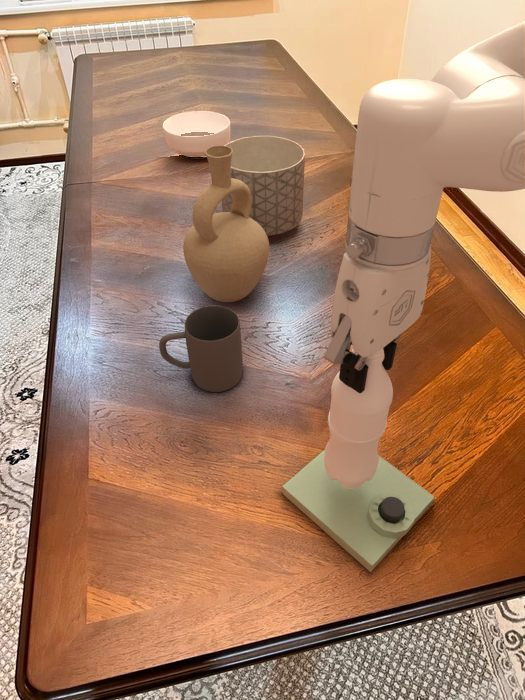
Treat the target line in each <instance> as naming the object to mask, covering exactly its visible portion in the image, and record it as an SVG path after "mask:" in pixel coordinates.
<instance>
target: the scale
mask: <svg viewBox="0 0 525 700" xmlns="http://www.w3.org/2000/svg"><path fill="white" fill-rule="evenodd" d="M324 453H325V449H323V450H322V451H321V452H320V453H319V454H318V455H316V456H315V457H314V458H313V459H311V461H310V462H309V463H307V464H305V466H304V467H302V468H301V469H300V470H299V471H298V472H297V473H296V474H294V475H293V476H292V477H291V478H290V479H289V480H288V481H287V482H285V483H284V484H283V485H281V494H282V495H283V496H284V497H285V498H286V499H287V500H288V501H290V503H292V504H293V505H294V506H295V507H296V508H297V509H298V510H300V511H301V513H303V514H304V515H306V516H307V517H308V518H309V519H310V520H311V521H312V522H313V523H314V524H315V525H317V526H318V527H319V528H320V529H321V530H322V531H323V532H324V533H325V534H326V535H328V536H329V537H330V538H331V539H332V540H333V541H334V542H336V543H337V544H338V545H339V546H340V547H341V548H342V549H344V551H346V552H347V553H348V554H349V555H351V557H353V559H355V560H356V561H357V562H358V563H359V564H361V566H363V567H364V568H365V569H366V570H367V571H368V572H370V573H372V571H373V570H374V569H375V568H376V567H377V566H378V565H379V564H380V562H381V561H383V559H384V558H385V557H386V556H387V555H388V554H389V553H390V551H392V550H393V548H394V547H396V545H397V544H398V543H399V542H400V540H401V539H402V538H403V537H404V536H406V535H407V534H408V533H409V531H411V529H412V528H413V526H415V524H416V523H417V522H418V521H419V519H420V518H421V517H422V516H423V515H424V514H425V513H426V512H427V510H428V509H429V508H430V507H431V506H432V505H433V503H434V500H435V498H436V496H435V495H433V494H432V493H430V491H427V490H426V489H425V488H424V487H422V486H421V485H420V484H418V483H417V482H416V481H414V480H413V479H412V478H410V477H409V476H407V475H406V474H405V473H404V472H403V471H401V470H399V469H398V468H396V467H395V466H394V465H393V464H391V463H390V462H389V461H387V460H386V459H384V458H383V457H382V456H380V455H379V462H378V466H377V469H376V472H375V474H374V476H373V478H372V479H371V480H369V481H366V482H365V483H364V484H363V485H362V486H360V487H358V488H355V489H347V488H345V487H343V486H342V485H341V484H340V482H339V480H338V479H336V480H332V479H331V478H330V477H329V475H328V474H327V471H326V469H325V464H324ZM387 497H396V498H398V499H399V500H401V501H402V503H403V504H404V508H405V510H404V513H403V516H402V519H401V520H400V521H398V522H395V523H391V522H388V521H386V520H384V519H383V518H382V516H381V514H380V507H381V503H382V501H383V500H384V499H385V498H387Z"/></svg>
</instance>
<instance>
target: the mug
mask: <svg viewBox="0 0 525 700" xmlns="http://www.w3.org/2000/svg"><path fill="white" fill-rule="evenodd" d="M183 327H184V331H181V332H180V331H179V332H172V333H167V334H164V335H162V336H161V338H160V339H159V342H158V343H159V344H158V348H159V353H160V355H161V357H162V359H163V360H164V361H166V362H167V363H169V364H171V366H175V367H177V368H181V369H187V370H189V369H190V375H191V377H192V380H193V382H194V384H195V385H196V386H197V387H198V388H200V389H201V390H203V391H206V392H210V393H220V392H225V391H229V390H231V389H233V388H234V387H235V386H237V385H238V384H239V383H240V381H241V379H242V377H243V370H244V369H243V367H244V364H243V362H244V361H243V345H242V330H241V329H242V328H241V322H240V318H239V316H238V314H237V313H236V312H235V311H234V310H232V309H231V308H229V307H227V306H223V305H215V304H213V305H212V304H211V305H205V306H202V307H199V308H196V309H194V310H193V311H192V312H190V313H189V314H188V315H187V317H186V318H185V321H184V326H183ZM182 339H185V344H186V350H187V351H186V352H187V356H188V357H187V358H188V361H183V360H180V359H177V358H175V357H174V356H172V355H170V354H169V353H168V350H167V343H168V342H169V341H173V340H182Z"/></svg>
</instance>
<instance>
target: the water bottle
mask: <svg viewBox="0 0 525 700" xmlns="http://www.w3.org/2000/svg"><path fill="white" fill-rule="evenodd" d="M351 352H352V353H354V354H356V355H358V354H357V353H356V352H355V351H354V348H352V350H351ZM383 360H384V350H383V348H382V349H381V350H380V351H378V352H377V353H375V354H374V355H372V356H369V357H367V360H366V363H365V364H366V365H367V366H368V372H367V378H366V384H365V390H364V391H363V392H362V393H358V392H357V391H355V390H354V389H352V388H351V387H348V386H347V385H345V384H344V383H343V382H342V381H341V380H340V379H339V374H340V370H339V371H338V372H337V373H336V375H335V377H334V378H333V380H332V384H331V388H330V394H331V395H330V396H331V398H330V408H329V412H328V416H327V427H328V430H329V437H328V441H327V444H326V445H325V448H324V450H325V453H324V464H325V469H326V471H327V474H328V475H329V477H330V478H331V479H332V480H336V479H338V480H339V482H340V484H341V485H342V486H343V487H345V488H347V489H355V488H358V487H360V486H362V485H363V484H364V483H365V482H366V481H369V480H371V479H372V478H373V476H374V474H375V472H376V469H377V466H378V462H379V456H380V455H379V444H380V440H381V438H382V436H383V434H384V432H385V431H386V430H387V426H388V421H387V420H388V416H389V411H390V407H391V405H392V402H393V398H394V389H393V383H392V380H391V378H390V376H389V374H388V371H387V370H385V369H384V367H383V365H382V361H383Z"/></svg>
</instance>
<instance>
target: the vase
mask: <svg viewBox="0 0 525 700" xmlns="http://www.w3.org/2000/svg"><path fill="white" fill-rule="evenodd" d="M205 154H206V156H207V157H206V158H207V161H208V165H209V171H210V179H211V180H210V181H211V184H210V185H208V186H207V187H206V188H204V190H202V191H201V193H200V194H199V195H198V197H197V199H196V200H195V202H194V205H193V208H192V209H193V210H192V224H193V225H191V226H190V227H189V229H188V230H187V232H186V234H185V237H184V239H183V245H182V247H183V250H182V251H183V256H184V261H185V264H186V266H187V269H188V271H189V273H190V275H191V277H192V278H193V281H195V283H196V285H197V286H198V287H199V288H200V289H201V291H203V293H204V294H205V295H207V297H209V298H211V299H212V300H215V301H218V302H221V303H235V302H239V301H240V300H243V299H245V298H246V297H247V296H248V295H249V294H250V293H252V291H253V290H254V289H255V288H256V286H257V284H258V283H259V281H260V280H261V279H262V276H263V274H264V272H265V270H266V267H267V265H268V262H269V257H270V256H269V255H270V241H269V238H268V237H269V236H267V235H266V233H265V231H264V229H263V228H262V227H261V226H260V225H259V224H258V223H257V222H256V221H254V220H253V219H251V218H250V217H249V215H250V211H251V203H252V200H251V192H250V189H249V188H248V186H247V185H246V184H245V183H244V182H242V181H241V180H238V179H234V178H231V158H232V154H233V150H232V149H231V148H230V147H227V146H213V147H210V148H208V149H207V150H206V151H205ZM231 193H233V203H232V209H231V212H223V211H220V212H216V213H215V210H216V209H217V207H218V205H219V204H220V203H222V200H223V199H224V198H225V197H226V196H228V195H229V194H231Z"/></svg>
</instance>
